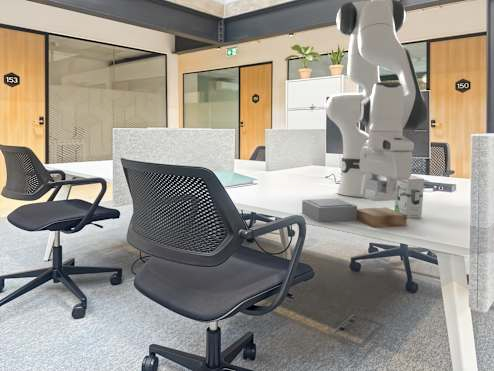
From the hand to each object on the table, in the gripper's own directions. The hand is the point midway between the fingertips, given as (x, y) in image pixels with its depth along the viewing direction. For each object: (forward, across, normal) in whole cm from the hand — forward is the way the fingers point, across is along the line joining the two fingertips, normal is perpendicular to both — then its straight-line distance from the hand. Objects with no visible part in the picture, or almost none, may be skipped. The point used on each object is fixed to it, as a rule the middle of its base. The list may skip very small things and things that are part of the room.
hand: (381, 191), depth 115 cm
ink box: (+9, -6, +14) cm, 18 cm away
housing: (+2, 0, 0) cm, 2 cm away
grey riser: (+9, -9, -11) cm, 17 cm away
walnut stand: (+9, +1, 0) cm, 9 cm away
